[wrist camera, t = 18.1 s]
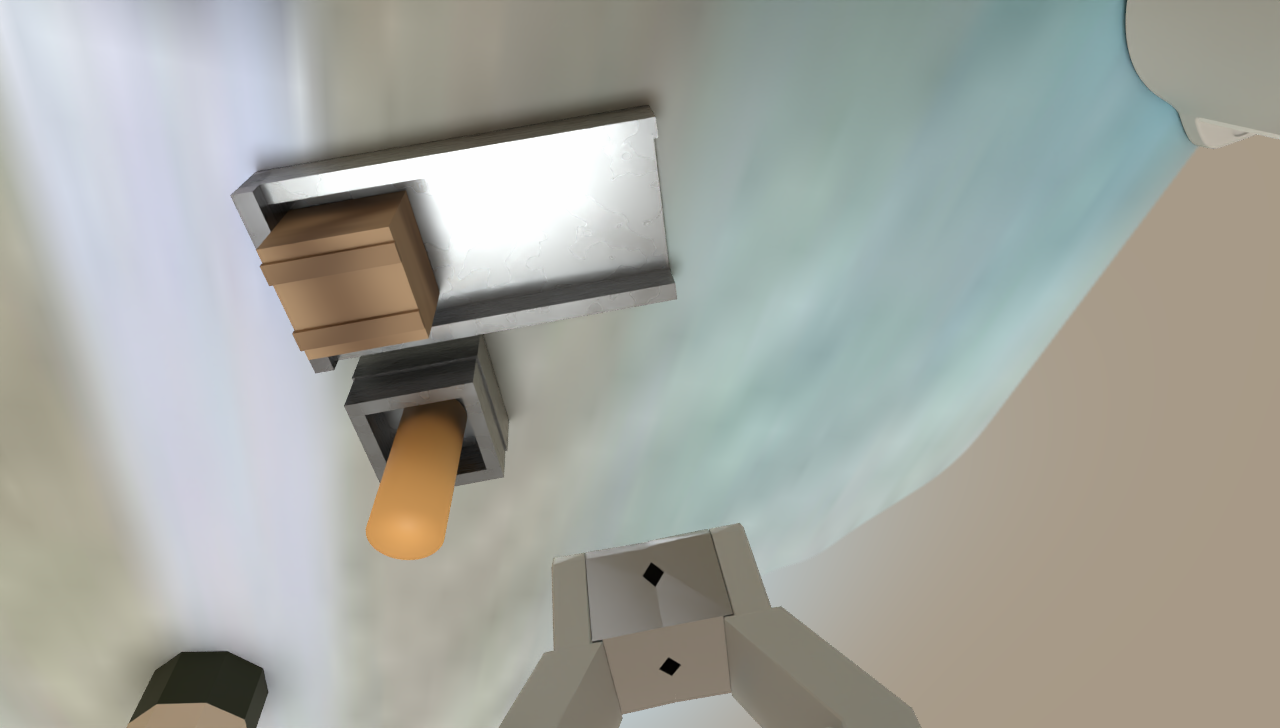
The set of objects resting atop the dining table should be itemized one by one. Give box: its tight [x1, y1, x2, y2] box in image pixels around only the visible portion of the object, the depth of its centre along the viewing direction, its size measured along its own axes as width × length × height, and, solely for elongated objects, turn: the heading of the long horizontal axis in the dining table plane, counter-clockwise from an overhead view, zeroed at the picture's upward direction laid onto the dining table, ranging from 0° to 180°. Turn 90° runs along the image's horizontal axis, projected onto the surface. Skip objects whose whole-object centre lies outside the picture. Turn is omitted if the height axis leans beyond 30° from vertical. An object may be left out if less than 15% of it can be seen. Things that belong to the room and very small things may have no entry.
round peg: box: [366, 399, 467, 560], centre depth 37 cm, size 4×4×9 cm
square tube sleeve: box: [344, 334, 509, 486], centre depth 41 cm, size 7×7×6 cm
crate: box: [256, 190, 440, 360], centre depth 35 cm, size 6×6×5 cm
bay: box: [230, 105, 677, 373], centre depth 36 cm, size 20×10×4 cm, turn 98°
